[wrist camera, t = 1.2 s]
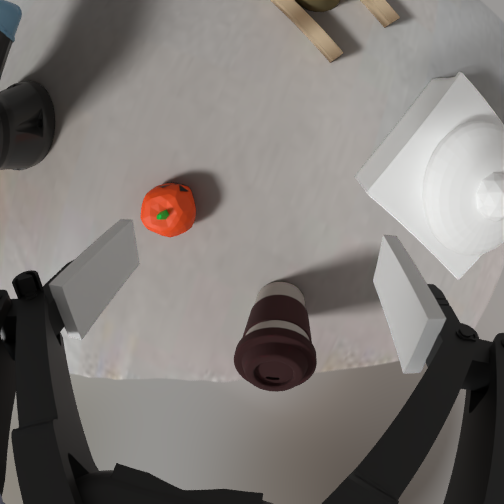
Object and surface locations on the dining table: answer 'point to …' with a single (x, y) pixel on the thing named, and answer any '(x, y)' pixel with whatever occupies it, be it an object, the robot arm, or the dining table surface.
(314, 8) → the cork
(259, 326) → the coffee cup
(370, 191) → the butter dish
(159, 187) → the pumpkin
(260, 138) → the dining table surface
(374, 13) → the pair of wooden strips
